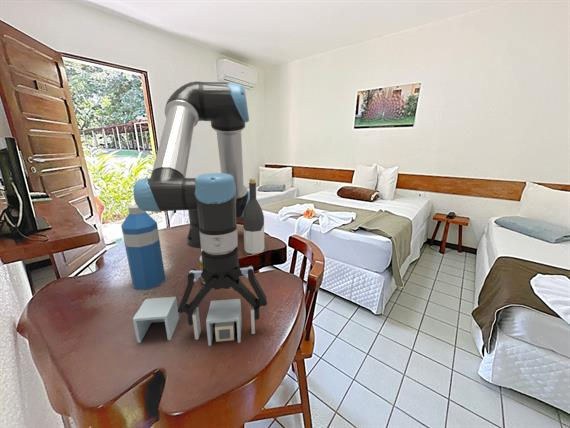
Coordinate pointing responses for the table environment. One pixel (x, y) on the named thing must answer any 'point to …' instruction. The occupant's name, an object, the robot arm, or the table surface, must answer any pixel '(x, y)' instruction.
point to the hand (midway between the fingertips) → (226, 332)
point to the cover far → (223, 316)
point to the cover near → (156, 316)
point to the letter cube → (225, 331)
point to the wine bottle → (253, 223)
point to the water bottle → (143, 249)
